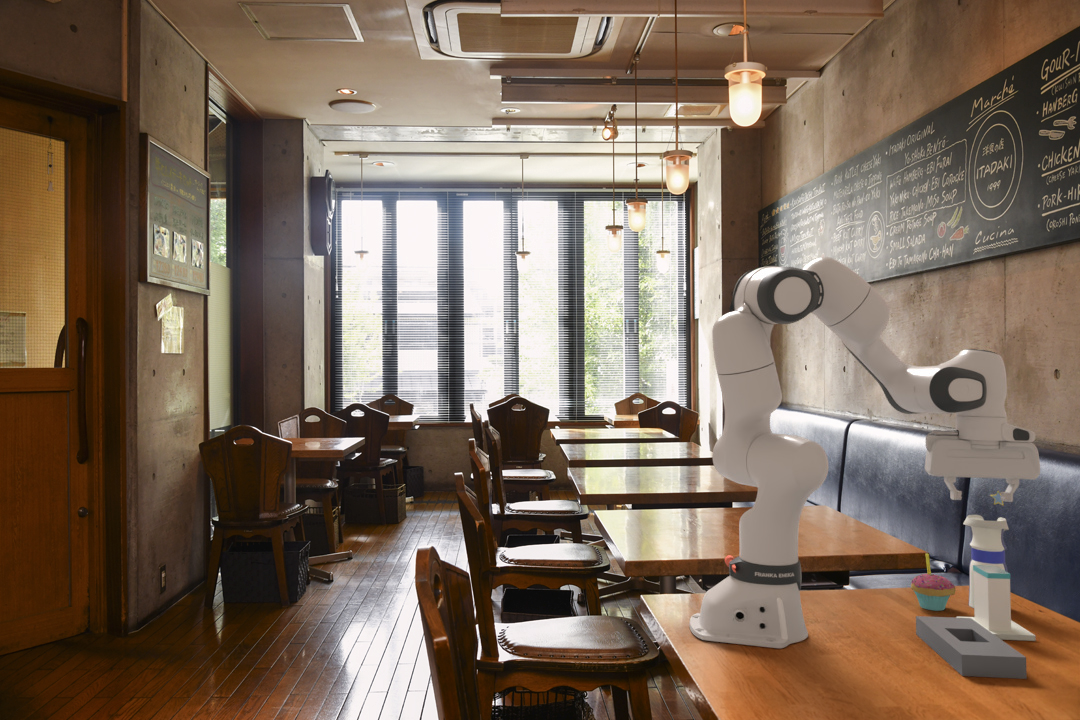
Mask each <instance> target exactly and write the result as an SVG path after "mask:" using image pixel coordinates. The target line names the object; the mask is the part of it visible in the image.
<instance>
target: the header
mask: <svg viewBox="0 0 1080 720" xmlns="http://www.w3.org/2000/svg"><path fill="white" fill-rule="evenodd" d="M915 635H916V636H918V638H919V639H920V640H922V641H923V642H924V644H926V645H927V646H928V647H930V648H931V650H932V651H934V652H935V653H936V655H939V657H941V658H942V659H943V660H944V661H945V662H946V663H948V665H949V666H950V667H952V669H954V670H955V671H956V672H957V673H958V674H959V675H961V676H962V677H978V678H980V677H981V678H1000V679H1020V680H1021V679H1025V680H1027V679H1028V678H1027V675H1028V674H1027V657H1026V656H1025V655H1024V654H1022V653H1021V652H1019V651H1018V650H1016V649H1015V648H1013V646H1011V645H1010V644H1008V643H1007V642H1005V640H1004V641H1003V640H1002V639H999V638H998V637H997V636H995V635H994V634H992V633H991V632H990V631H988V630H987V629H985V628H984V627H983V626H981V625H980V624H978V623H977V622H975V621H974V620H973V619H971V618H956V617H950V616H948V617H947V616H924V615H922V616H920V615H918V616H917V615H916V616H915Z"/></svg>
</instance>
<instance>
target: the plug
mask: <svg viewBox="0 0 1080 720" xmlns="http://www.w3.org/2000/svg"><path fill="white" fill-rule="evenodd" d="M973 570H974V608H973V609H974V612H973V613H974V616H973V617H975V621H976V622H978V623H979V624H981V625H982V626H983V627H985V628H986V629H988V630H993V631H1011V620H1012V614H1011V613H1012V612H1011V611H1012V609H1011V608H1012V605H1011V573H1010V572H1006V571H1004V570H1002V569H1000V568H998V567H996V566H986V565H973Z"/></svg>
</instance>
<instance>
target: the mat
mask: <svg viewBox="0 0 1080 720" xmlns="http://www.w3.org/2000/svg"><path fill="white" fill-rule="evenodd" d="M955 618H971V619H973V620H974V621H975V617H974V616H956V617H955ZM975 622H976V621H975ZM977 623H978V622H977ZM978 624H979V623H978ZM980 625H981V624H980ZM981 626H982V625H981ZM984 628H985V627H984ZM985 629H986V628H985ZM987 630H988V629H987ZM988 631H990V632H991V633H992V634H994V635H995V636H997V637H998V638H999V639H1001V640H1002V641H1003V640H1004V641H1005V640H1007V641H1009V640H1010V641H1031V642H1036V640H1037V637H1036V635H1035V634H1034V633H1033V632H1030V631H1029V630H1028V629H1026V628H1024V627H1023V626H1021V625H1020V624H1018V623H1017V622H1015V621H1013V620H1012V619H1011V631H993V630H988Z"/></svg>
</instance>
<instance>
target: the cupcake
mask: <svg viewBox="0 0 1080 720" xmlns="http://www.w3.org/2000/svg"><path fill="white" fill-rule="evenodd" d="M930 562H931V561H930V554H929V553H928V550H927V549H925V563H926V570H927V573H921V574H919V575H916V576H914V578H912V579H911V584H910V589H911V590H912V591H913V592H914V594H915V596H916V598H917V601H918V604H919V607H920V608H922V609H924V610H928V611H933V612H939V611H941V612H942V611H944V610H946V606H947V603H948V601H949V598H950V597H951V596H954V595H955V593H956V587H955V584H954V583H952V581H950V580H949V579H948V578H947V577H944V576H943V575H938V574H934V573H932V571H931V563H930Z"/></svg>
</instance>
